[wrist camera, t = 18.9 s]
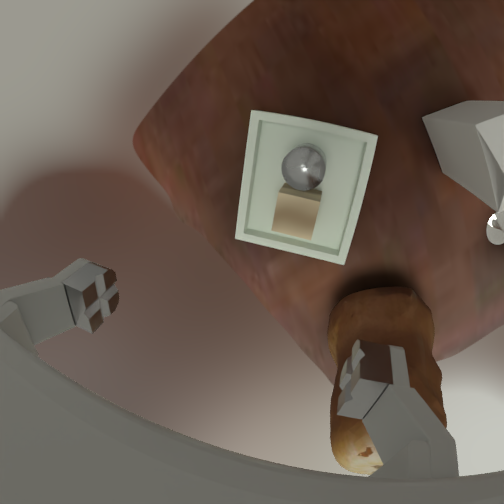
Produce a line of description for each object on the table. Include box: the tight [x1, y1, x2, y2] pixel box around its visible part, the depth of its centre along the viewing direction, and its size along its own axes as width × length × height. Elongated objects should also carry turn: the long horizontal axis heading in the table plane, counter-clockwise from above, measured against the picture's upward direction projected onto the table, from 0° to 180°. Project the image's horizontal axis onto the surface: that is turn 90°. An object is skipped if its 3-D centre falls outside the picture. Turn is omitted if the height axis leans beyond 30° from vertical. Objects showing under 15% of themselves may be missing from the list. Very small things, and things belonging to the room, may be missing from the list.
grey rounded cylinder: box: [281, 143, 326, 191], centre depth 31 cm, size 4×4×5 cm
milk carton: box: [422, 101, 504, 213], centre depth 19 cm, size 7×7×19 cm
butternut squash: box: [327, 286, 447, 475], centre depth 29 cm, size 14×13×25 cm
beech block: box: [271, 182, 322, 240], centre depth 34 cm, size 4×4×4 cm
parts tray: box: [235, 110, 378, 265], centre depth 34 cm, size 16×14×2 cm
